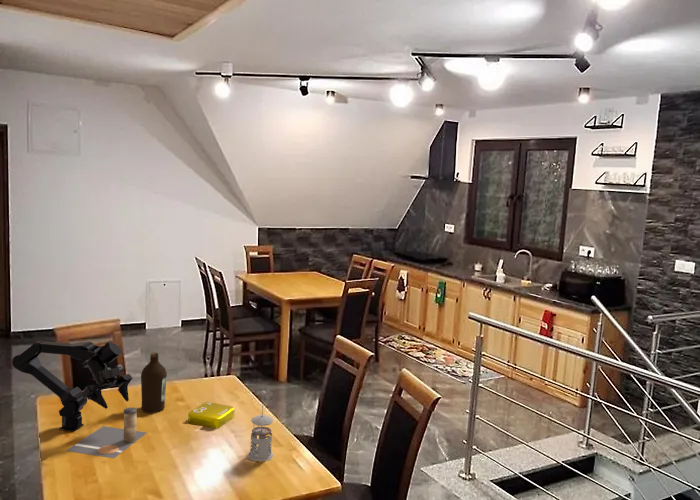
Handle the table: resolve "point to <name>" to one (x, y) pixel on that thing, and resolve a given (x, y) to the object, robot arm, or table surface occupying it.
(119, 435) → the subfloor panel
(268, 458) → the french press
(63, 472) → the table surface
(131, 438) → the beige cylindrical canister
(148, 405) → the olive oil
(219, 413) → the element tile
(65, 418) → the robot arm
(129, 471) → the table surface
